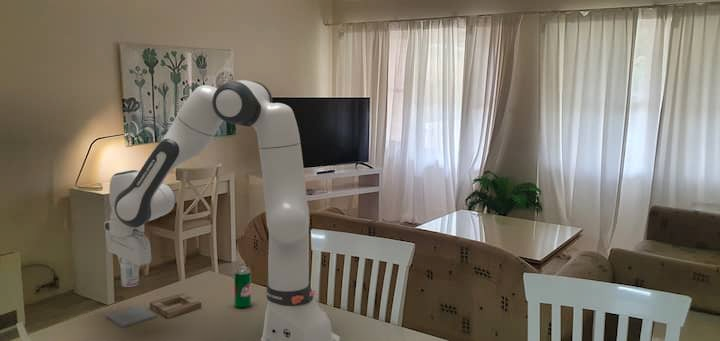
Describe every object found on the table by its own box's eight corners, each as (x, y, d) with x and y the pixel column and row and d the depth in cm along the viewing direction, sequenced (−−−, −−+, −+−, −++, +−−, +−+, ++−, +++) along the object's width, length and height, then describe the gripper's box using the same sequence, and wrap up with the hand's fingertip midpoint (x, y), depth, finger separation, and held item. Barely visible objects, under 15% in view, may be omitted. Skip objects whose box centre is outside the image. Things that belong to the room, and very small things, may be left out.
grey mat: (156, 317, 161) (155, 315, 161) (122, 327, 153) (122, 325, 153) (139, 307, 167) (139, 305, 167) (106, 317, 160) (106, 315, 160)
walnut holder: (201, 307, 168) (201, 302, 168) (168, 318, 160) (168, 312, 160) (182, 298, 175) (182, 293, 175) (149, 308, 167) (149, 302, 167)
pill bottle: (142, 282, 161) (141, 254, 159) (132, 288, 156) (131, 259, 155) (127, 280, 161) (126, 253, 160) (117, 286, 157) (116, 258, 156)
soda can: (243, 310, 167) (242, 272, 165) (231, 306, 170) (230, 269, 168) (254, 304, 171) (254, 268, 170) (242, 301, 174) (242, 265, 172)
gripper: (156, 231, 152) (158, 278, 154) (122, 218, 165) (124, 262, 167) (134, 235, 147) (136, 284, 149) (101, 222, 160) (103, 267, 162)
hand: (129, 272), depth 158 cm, fingers closed on pill bottle, 5 cm apart
